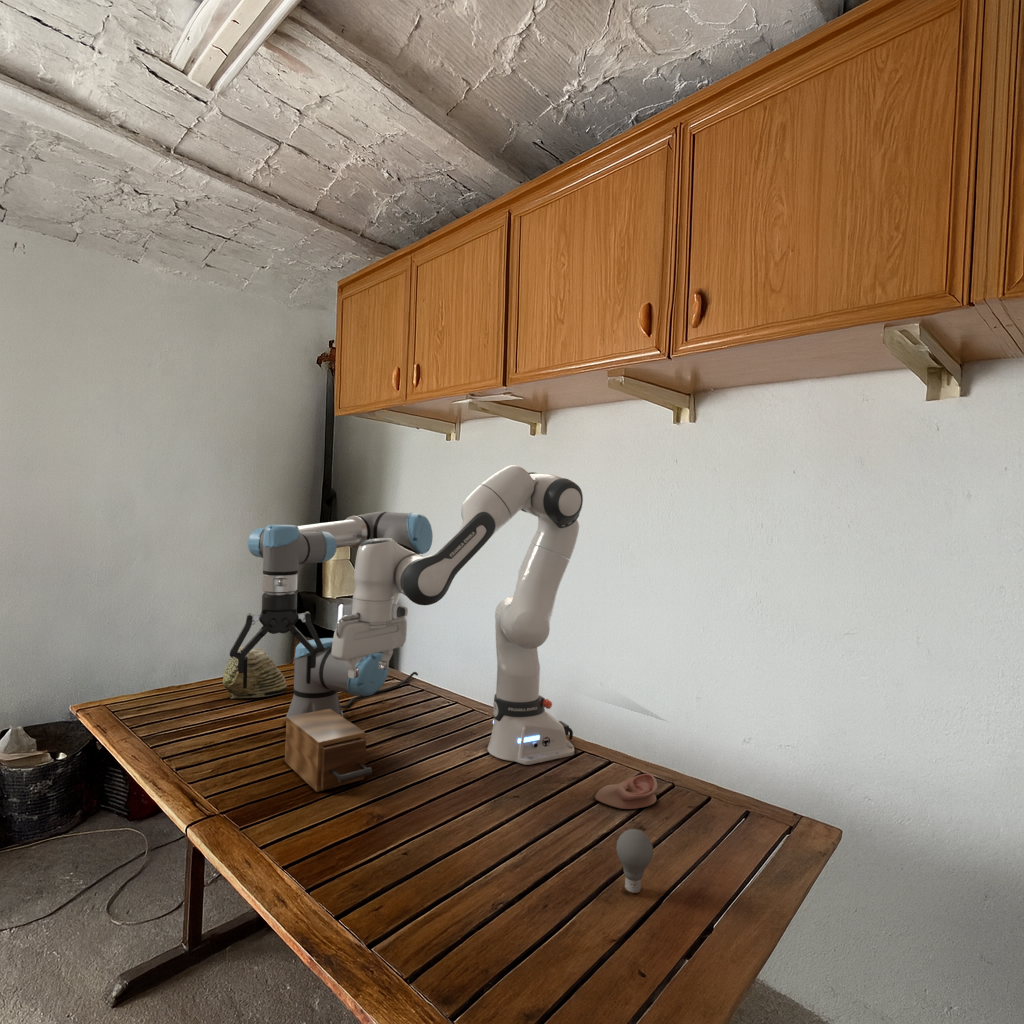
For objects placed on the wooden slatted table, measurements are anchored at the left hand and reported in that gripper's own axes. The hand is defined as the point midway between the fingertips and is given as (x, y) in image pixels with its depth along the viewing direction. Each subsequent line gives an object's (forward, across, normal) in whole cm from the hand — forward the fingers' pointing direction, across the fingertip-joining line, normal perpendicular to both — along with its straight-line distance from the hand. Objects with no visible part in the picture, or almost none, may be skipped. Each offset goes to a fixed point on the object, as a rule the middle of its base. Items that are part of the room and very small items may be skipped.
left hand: (277, 684), depth 145 cm
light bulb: (+20, +54, -66) cm, 87 cm away
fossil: (+20, -4, +58) cm, 62 cm away
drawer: (+19, +12, -9) cm, 24 cm away
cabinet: (+20, +10, -4) cm, 23 cm away
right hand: (-5, +18, -13) cm, 23 cm away
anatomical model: (+20, +71, -37) cm, 83 cm away
